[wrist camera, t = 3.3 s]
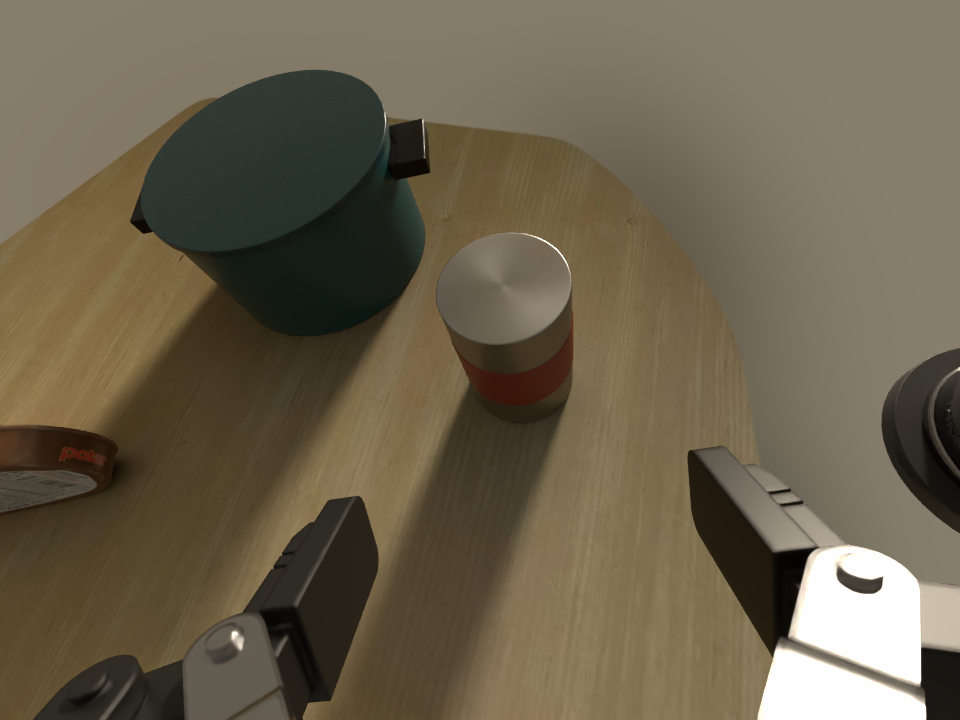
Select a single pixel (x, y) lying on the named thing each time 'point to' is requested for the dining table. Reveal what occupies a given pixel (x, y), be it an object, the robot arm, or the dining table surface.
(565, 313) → the can
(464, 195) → the dining table surface
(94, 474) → the tin
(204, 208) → the pot
